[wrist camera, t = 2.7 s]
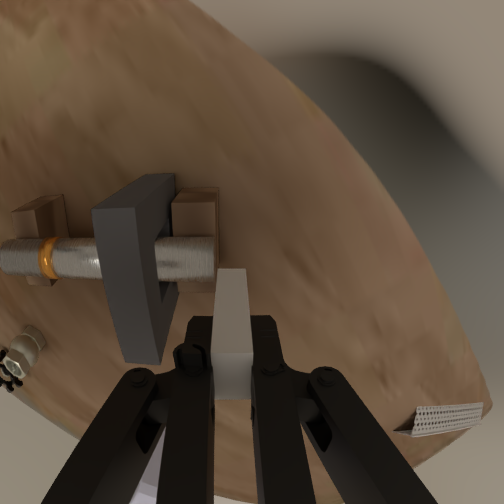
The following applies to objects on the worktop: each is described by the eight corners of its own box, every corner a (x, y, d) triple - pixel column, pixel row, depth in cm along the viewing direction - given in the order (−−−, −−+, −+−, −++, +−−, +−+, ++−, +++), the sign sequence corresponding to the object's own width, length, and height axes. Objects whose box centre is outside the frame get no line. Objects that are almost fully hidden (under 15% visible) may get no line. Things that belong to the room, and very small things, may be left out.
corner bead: (483, 399, 47) (492, 412, 43) (460, 422, 51) (468, 435, 46) (417, 402, 42) (428, 422, 37) (388, 431, 45) (396, 450, 40)
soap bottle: (165, 430, 38) (151, 560, 17) (127, 410, 36) (99, 546, 15) (200, 410, 36) (194, 564, 15) (158, 387, 34) (131, 553, 13)
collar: (155, 285, 26) (125, 362, 17) (145, 174, 22) (90, 209, 13) (181, 285, 26) (160, 365, 17) (174, 173, 22) (134, 207, 13)
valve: (24, 311, 28) (-1, 343, 31) (-2, 343, 22) (-20, 370, 25) (58, 347, 31) (28, 372, 33) (38, 382, 25) (12, 401, 27)
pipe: (23, 265, 21) (4, 282, 18) (15, 232, 19) (-6, 247, 16) (216, 269, 22) (213, 292, 19) (215, 228, 20) (212, 246, 18)
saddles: (52, 261, 26) (28, 284, 21) (40, 196, 23) (10, 212, 18) (219, 263, 27) (216, 292, 22) (218, 187, 24) (214, 202, 20)
